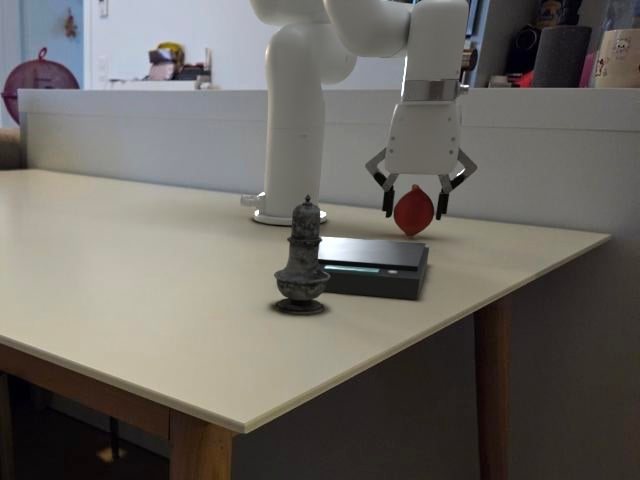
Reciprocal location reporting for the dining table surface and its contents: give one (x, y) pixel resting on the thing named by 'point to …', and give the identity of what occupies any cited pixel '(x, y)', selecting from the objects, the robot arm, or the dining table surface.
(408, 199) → the onion
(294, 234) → the salt shaker
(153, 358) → the dining table surface
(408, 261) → the scale
